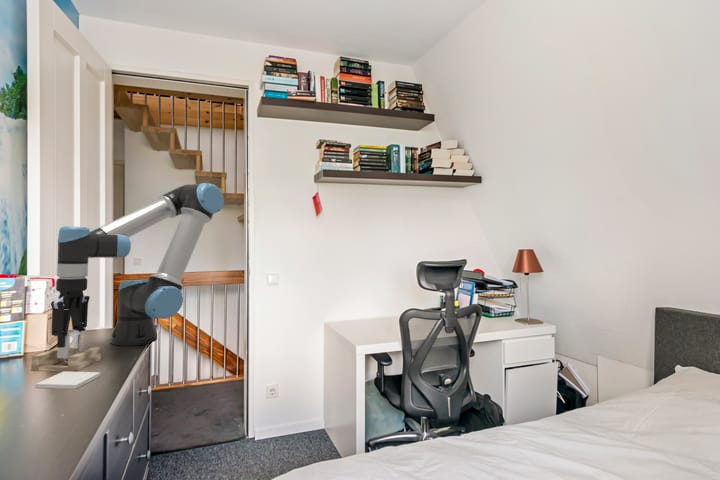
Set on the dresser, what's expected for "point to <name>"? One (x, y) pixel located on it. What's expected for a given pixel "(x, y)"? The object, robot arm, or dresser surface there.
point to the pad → (68, 380)
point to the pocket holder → (75, 362)
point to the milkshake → (73, 343)
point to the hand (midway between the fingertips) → (68, 355)
